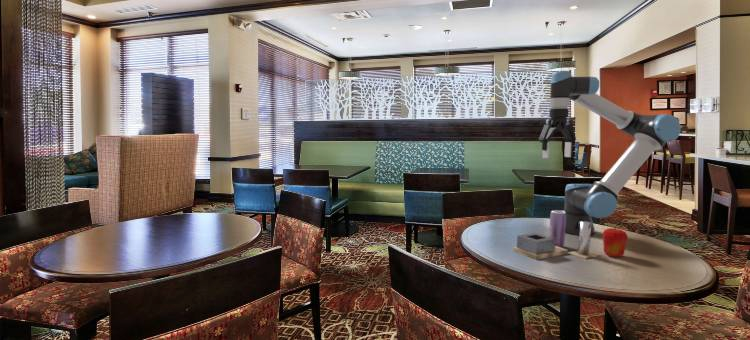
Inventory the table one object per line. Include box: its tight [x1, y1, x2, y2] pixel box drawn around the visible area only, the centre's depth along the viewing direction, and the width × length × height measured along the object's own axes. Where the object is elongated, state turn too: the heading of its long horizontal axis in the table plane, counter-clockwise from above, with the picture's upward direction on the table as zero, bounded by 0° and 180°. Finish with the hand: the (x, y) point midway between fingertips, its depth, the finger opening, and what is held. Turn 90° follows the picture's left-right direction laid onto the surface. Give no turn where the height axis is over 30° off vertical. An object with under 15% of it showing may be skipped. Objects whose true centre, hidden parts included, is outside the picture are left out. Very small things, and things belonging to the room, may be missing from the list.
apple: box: [602, 225, 629, 258], centre depth 161 cm, size 9×8×12 cm
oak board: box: [512, 246, 569, 260], centre depth 165 cm, size 17×12×2 cm
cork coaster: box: [568, 250, 598, 260], centre depth 162 cm, size 7×7×1 cm
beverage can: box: [548, 209, 566, 249], centre depth 172 cm, size 6×6×15 cm
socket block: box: [516, 232, 555, 255], centre depth 164 cm, size 10×10×5 cm
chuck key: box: [577, 221, 594, 255], centre depth 161 cm, size 6×4×12 cm
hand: (556, 157), depth 179 cm, fingers open, 13 cm apart
